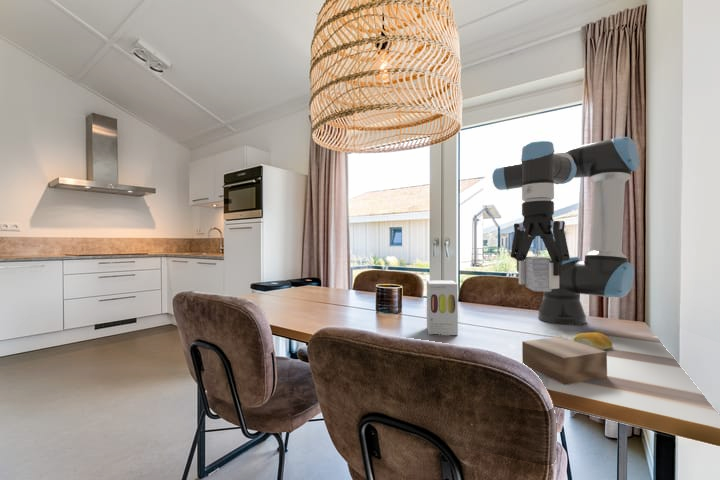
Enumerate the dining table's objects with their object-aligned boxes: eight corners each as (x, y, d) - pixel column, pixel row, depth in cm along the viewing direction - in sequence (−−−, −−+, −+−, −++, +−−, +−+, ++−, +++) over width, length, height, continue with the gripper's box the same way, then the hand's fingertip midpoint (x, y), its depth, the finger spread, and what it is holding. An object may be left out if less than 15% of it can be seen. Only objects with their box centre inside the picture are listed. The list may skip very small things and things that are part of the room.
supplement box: (428, 335, 109) (427, 283, 109) (426, 327, 118) (425, 279, 118) (458, 335, 108) (458, 283, 107) (454, 328, 117) (453, 279, 117)
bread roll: (617, 347, 94) (617, 333, 94) (597, 353, 90) (597, 338, 90) (587, 339, 102) (587, 326, 102) (567, 344, 98) (567, 330, 98)
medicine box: (551, 292, 85) (551, 257, 85) (532, 291, 86) (532, 257, 86) (542, 287, 93) (542, 256, 93) (525, 287, 94) (524, 256, 94)
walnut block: (561, 359, 86) (560, 336, 86) (607, 378, 75) (606, 351, 75) (522, 365, 83) (522, 341, 83) (564, 386, 72) (564, 358, 72)
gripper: (496, 204, 98) (496, 282, 98) (565, 195, 78) (565, 292, 78) (515, 205, 101) (516, 281, 101) (587, 196, 81) (588, 290, 81)
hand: (537, 286), depth 89 cm, fingers closed on medicine box, 9 cm apart
